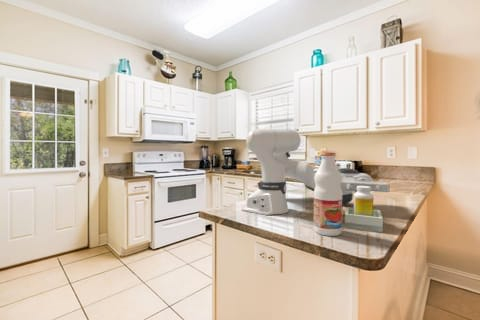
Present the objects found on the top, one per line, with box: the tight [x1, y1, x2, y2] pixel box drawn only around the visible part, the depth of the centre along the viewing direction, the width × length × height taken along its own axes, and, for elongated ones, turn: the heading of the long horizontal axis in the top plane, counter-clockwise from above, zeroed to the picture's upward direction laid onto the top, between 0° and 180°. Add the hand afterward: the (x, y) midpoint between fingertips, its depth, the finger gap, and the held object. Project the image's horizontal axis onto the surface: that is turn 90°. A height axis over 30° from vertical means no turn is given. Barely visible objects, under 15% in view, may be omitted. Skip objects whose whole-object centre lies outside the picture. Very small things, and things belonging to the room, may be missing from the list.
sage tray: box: [344, 206, 384, 233], centre depth 89 cm, size 12×12×5 cm
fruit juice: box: [313, 152, 343, 237], centre depth 82 cm, size 9×9×28 cm
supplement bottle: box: [353, 186, 374, 217], centre depth 89 cm, size 7×7×13 cm
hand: (363, 188), depth 99 cm, fingers open, 8 cm apart
